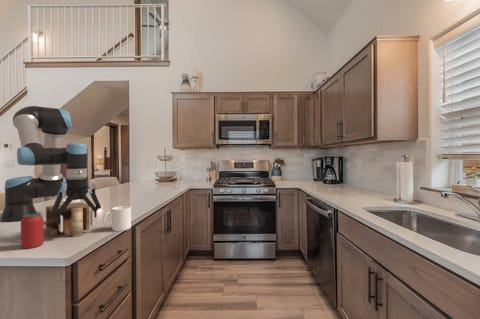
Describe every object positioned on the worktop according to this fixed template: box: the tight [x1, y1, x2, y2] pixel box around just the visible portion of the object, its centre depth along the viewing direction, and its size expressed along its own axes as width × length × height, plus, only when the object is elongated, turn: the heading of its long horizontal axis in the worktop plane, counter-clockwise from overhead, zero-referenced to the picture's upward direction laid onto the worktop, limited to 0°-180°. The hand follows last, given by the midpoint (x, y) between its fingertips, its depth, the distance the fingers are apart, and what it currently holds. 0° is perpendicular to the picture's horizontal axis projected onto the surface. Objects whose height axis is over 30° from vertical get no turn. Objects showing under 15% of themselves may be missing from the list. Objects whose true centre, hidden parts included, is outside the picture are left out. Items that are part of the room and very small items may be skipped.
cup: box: [102, 205, 132, 232], centre depth 115 cm, size 8×12×10 cm
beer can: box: [20, 213, 44, 249], centre depth 94 cm, size 7×7×12 cm
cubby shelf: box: [45, 202, 90, 238], centre depth 114 cm, size 11×14×12 cm
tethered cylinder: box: [60, 207, 84, 238], centre depth 110 cm, size 14×6×12 cm, turn 52°
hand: (77, 228), depth 107 cm, fingers open, 11 cm apart
